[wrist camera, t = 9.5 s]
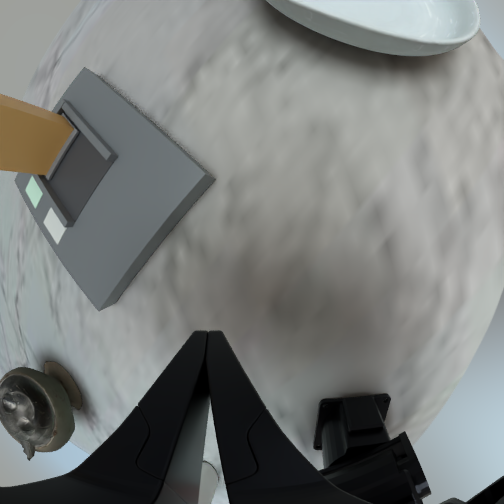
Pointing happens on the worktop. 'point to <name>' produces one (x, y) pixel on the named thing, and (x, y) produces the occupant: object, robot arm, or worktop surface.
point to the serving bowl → (389, 23)
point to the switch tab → (32, 137)
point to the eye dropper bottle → (207, 484)
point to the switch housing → (111, 190)
